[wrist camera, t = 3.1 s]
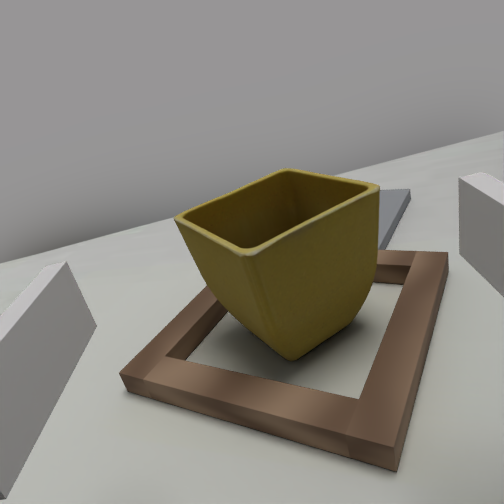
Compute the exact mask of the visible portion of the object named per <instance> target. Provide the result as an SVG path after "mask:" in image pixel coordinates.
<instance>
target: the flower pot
mask: <svg viewBox="0 0 504 504" xmlns="http://www.w3.org/2000/svg"><path fill="white" fill-rule="evenodd" d="M379 204H380V186H379V185H377V184H373V183H368V182H364V181H359V180H352V179H346V178H341V177H335V176H329V175H324V174H318V173H313V172H308V171H303V170H298V169H287V168H285V169H281V170H278V171H276V172H273V173H271V174H269V175H267V176H265V177H263V178H260V179H258V180H256V181H254V182H251V183H249V184H247V185H245V186H243V187H241V188H239V189H236V190H234V191H232V192H230V193H227V194H225V195H223V196H220V197H217V198H215V199H212V200H210V201H208V202H205V203H203V204H201V205H198V206H196V207H194V208H191V209H189V210H187V211H184V212H183V213H181V214H179V215H177V216H175V217H174V221H175V223H176V224H177V226H178V228H179V231H180V233H181V235H182V237H183V239H184V241H185V243H186V245H187V247H188V249H189V251H190V253H191V255H192V257H193V259H194V261H195V263H196V265H197V267H198V269H199V271H200V273H201V275H202V277H203V279H204V280H205V282H206V284H207V286H208V287H209V289H210V290H211V292H212V293H213V294H214V296H215V297H216V298H217V299H218V301H219V302H220V303H221V304H222V305H223V306H224V307H225V308H226V309H227V310H228V311H229V312H230V313H231V314H232V315H233V316H234V317H235V318H236V319H237V320H238V321H239V322H240V323H241V324H243V325H244V326H245V327H246V328H247V329H248V330H250V331H251V332H252V333H253V334H255V335H256V336H257V337H258V338H260V339H261V340H262V341H263V342H265V343H266V344H267V345H268V346H270V347H271V348H272V349H273V350H274V351H276V352H277V353H278V354H279V355H281V356H282V357H283V358H285V359H286V360H289V361H294V360H297V359H299V358H300V357H302V356H303V355H305V354H306V353H307V352H309V351H310V350H312V349H313V348H315V347H316V346H318V345H319V344H320V343H322V342H323V341H325V340H326V339H328V338H329V337H331V336H332V335H334V334H335V333H337V332H338V331H340V330H341V329H343V328H345V327H346V326H347V325H349V324H350V323H351V322H352V321H353V319H354V318H355V316H356V315H357V313H358V312H359V310H360V309H361V307H362V305H363V303H364V302H365V300H366V298H367V295H368V293H369V291H370V288H371V286H372V283H373V280H374V276H375V272H376V267H377V257H378V234H379Z"/></svg>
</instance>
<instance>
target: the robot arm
mask: <svg viewBox="0 0 504 504" xmlns="http://www.w3.org/2000/svg"><path fill="white" fill-rule="evenodd" d="M459 254H460V255H461V256H462V257H463V258H464V259H465V260H466V261H467V262H468V263H469V264H470V265H471V266H472V267H473V268H474V269H475V270H477V271H478V272H479V273H480V274H481V275H482V276H483V277H484V278H485V279H486V280H487V281H488V282H489V283H490V284H491V285H492V286H493V287H494V288H495V289H496V290H497V291H498V292H499V293H500V294H501V295H502V296H503V297H504V183H503V182H501V181H500V180H498V179H496V178H494V177H492V176H490V175H488V174H486V173H485V172H481V173H476V174H471V175H467V176H462V177H459ZM96 327H97V325H96V323H95V321H94V319H93V317H92V315H91V312H90V310H89V308H88V306H87V304H86V302H85V300H84V297H83V295H82V293H81V291H80V289H79V287H78V285H77V282H76V280H75V278H74V276H73V274H72V272H71V270H70V268H69V265H68V263H67V261H65V262H61V263H56V264H51V265H47V266H45V267H44V268H43V269H42V270H41V271H40V272H39V273H38V275H37V276H36V277H35V278H34V279H33V280H32V281H31V282H30V283H29V285H28V286H27V287H26V288H25V289H24V290H23V291H22V292H21V293H20V295H19V296H18V297H17V298H16V299H15V300H14V301H13V302H12V303H11V305H10V306H9V307H8V308H7V309H6V310H5V311H4V312H3V313H2V314H1V316H0V500H3V499H6V498H7V496H8V494H9V492H10V491H11V489H12V487H13V485H14V483H15V481H16V479H17V477H18V475H19V473H20V472H21V470H22V468H23V466H24V464H25V462H26V460H27V458H28V456H29V454H30V453H31V451H32V449H33V447H34V445H35V443H36V441H37V439H38V437H39V435H40V434H41V432H42V430H43V428H44V426H45V424H46V422H47V420H48V418H49V416H50V415H51V413H52V411H53V409H54V407H55V405H56V403H57V401H58V399H59V397H60V396H61V394H62V392H63V390H64V388H65V386H66V384H67V382H68V380H69V378H70V376H71V375H72V373H73V371H74V369H75V367H76V365H77V363H78V361H79V359H80V357H81V356H82V354H83V352H84V350H85V348H86V346H87V344H88V342H89V340H90V338H91V337H92V335H93V333H94V331H95V329H96Z"/></svg>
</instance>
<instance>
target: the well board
mask: <svg viewBox="0 0 504 504" xmlns="http://www.w3.org/2000/svg"><path fill="white" fill-rule="evenodd" d="M448 272H449V266H448V252H426V251H398V250H378V257H377V267H376V272H375V276H374V280H373V282H383V283H397V284H404V285H403V288H402V291H401V293H400V296H399V298H398V301H397V303H396V306H395V309H394V311H393V314H392V316H391V319H390V321H389V324H388V326H387V329H386V332H385V334H384V337H383V339H382V342H381V344H380V347H379V350H378V352H377V355H376V357H375V360H374V362H373V365H372V367H371V370H370V373H369V375H368V378H367V380H366V383H365V385H364V388H363V391H362V393H361V396H360V398H359V399H355V398H350V397H346V396H341V395H337V394H332V393H328V392H323V391H319V390H314V389H310V388H305V387H301V386H296V385H292V384H287V383H283V382H278V381H274V380H269V379H265V378H260V377H256V376H251V375H247V374H243V373H238V372H234V371H229V370H225V369H220V368H216V367H211V366H207V365H202V364H198V363H193V362H189V361H185V359H186V358H187V357H188V356H189V355H190V354H191V353H192V351H193V350H194V349H195V348H196V347H197V346H198V345H199V343H200V342H201V341H202V340H203V339H204V338H205V337H206V335H207V334H208V333H209V332H210V331H211V330H212V329H213V327H214V326H215V325H216V324H217V323H218V322H219V321H220V319H221V318H222V317H223V316H224V315H225V314H226V313H227V311H228V310H227V309H226V308H225V307H224V306H223V305H222V304H221V303H220V302H219V301H218V299H217V298H216V297H215V296H214V294H213V293H212V292H211V290H210V289H209V287H208V286H206V287H205V288H204V289H203V290H202V291H201V292H200V293H199V294H198V295H197V296H196V297H195V298H194V299H193V300H192V301H191V302H190V303H189V304H188V305H187V306H186V307H185V308H184V309H183V310H182V311H181V312H180V313H179V314H178V315H177V316H176V317H175V318H174V319H173V320H172V321H171V322H170V323H169V324H168V325H167V326H166V327H165V328H164V329H163V330H162V331H161V332H160V333H159V334H158V335H157V336H156V337H155V338H154V339H153V340H152V341H151V342H150V343H149V344H148V345H146V346H145V347H144V348H143V349H142V350H141V351H140V352H139V353H138V354H137V355H136V356H135V357H134V358H133V359H132V360H131V361H130V362H129V363H128V364H127V365H126V366H125V367H124V368H123V369H122V370H121V371H120V372H119V374H120V376H121V378H122V380H123V383H124V385H125V387H126V389H127V391H128V392H132V393H135V394H138V395H142V396H145V397H149V398H152V399H155V400H159V401H162V402H165V403H169V404H172V405H175V406H179V407H182V408H185V409H189V410H192V411H195V412H199V413H202V414H205V415H209V416H212V417H215V418H219V419H222V420H225V421H229V422H232V423H235V424H239V425H242V426H245V427H249V428H252V429H255V430H259V431H262V432H265V433H269V434H272V435H275V436H279V437H282V438H286V439H289V440H292V441H296V442H299V443H302V444H306V445H309V446H312V447H316V448H319V449H322V450H326V451H329V452H332V453H336V454H339V455H342V456H346V457H349V458H352V459H356V460H359V461H362V462H366V463H369V464H372V465H376V466H379V467H382V468H386V469H389V470H392V471H396V472H397V468H398V465H399V461H400V457H401V453H402V449H403V445H404V441H405V438H406V434H407V430H408V426H409V422H410V418H411V414H412V411H413V407H414V403H415V399H416V395H417V391H418V387H419V384H420V380H421V376H422V372H423V368H424V364H425V361H426V357H427V353H428V349H429V345H430V341H431V337H432V334H433V330H434V326H435V322H436V318H437V314H438V310H439V307H440V303H441V299H442V295H443V291H444V287H445V283H446V280H447V276H448Z"/></svg>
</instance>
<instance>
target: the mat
mask: <svg viewBox="0 0 504 504" xmlns="http://www.w3.org/2000/svg"><path fill="white" fill-rule="evenodd" d="M410 199H411V196H410V189H396V190H380V204H379V234H378V250H385V248H386V246H387V244H388V242H389V240H390V239H391V237H392V235H393V233H394V231H395V229H396V227H397V225H398V223H399V221H400V219H401V217H402V215H403V213H404V211H405V209H406V207H407V205H408V203H409V201H410Z"/></svg>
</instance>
